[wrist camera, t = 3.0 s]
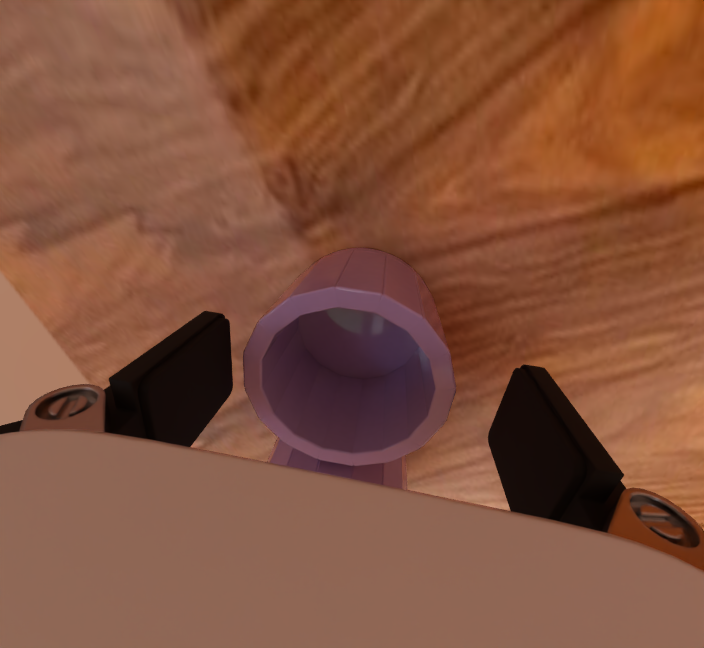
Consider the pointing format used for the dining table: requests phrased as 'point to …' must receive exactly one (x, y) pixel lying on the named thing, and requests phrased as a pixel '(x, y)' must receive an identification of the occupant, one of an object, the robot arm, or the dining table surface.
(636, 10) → the dining table surface
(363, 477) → the purple cup
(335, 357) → the cup
